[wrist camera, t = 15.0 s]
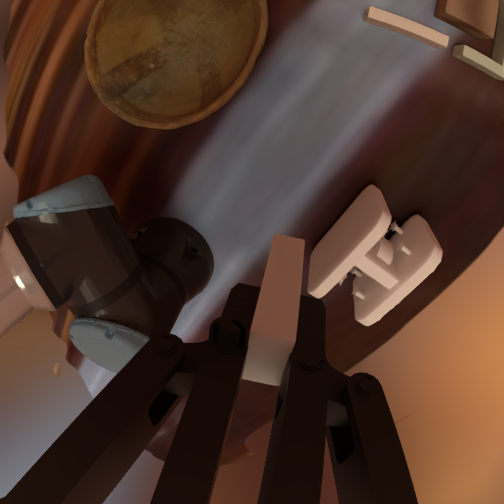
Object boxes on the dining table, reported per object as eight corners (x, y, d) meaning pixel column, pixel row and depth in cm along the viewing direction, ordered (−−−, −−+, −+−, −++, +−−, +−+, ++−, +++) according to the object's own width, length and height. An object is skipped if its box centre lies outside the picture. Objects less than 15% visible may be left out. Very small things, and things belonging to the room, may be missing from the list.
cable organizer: (373, 173, 40) (388, 208, 31) (425, 217, 42) (449, 261, 32) (309, 248, 48) (304, 298, 39) (361, 283, 50) (366, 335, 40)
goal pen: (452, 55, 29) (462, 55, 26) (465, -27, 21) (475, -33, 18) (496, 79, 28) (508, 81, 25) (509, -2, 20) (521, -4, 17)
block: (433, 16, 27) (445, 11, 23) (439, -19, 23) (451, -26, 20) (478, 39, 26) (493, 38, 22) (484, 5, 23) (499, 1, 19)
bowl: (102, 31, 35) (57, 32, 27) (229, -59, 26) (204, -87, 17) (170, 143, 44) (135, 163, 35) (314, 64, 34) (312, 61, 26)
